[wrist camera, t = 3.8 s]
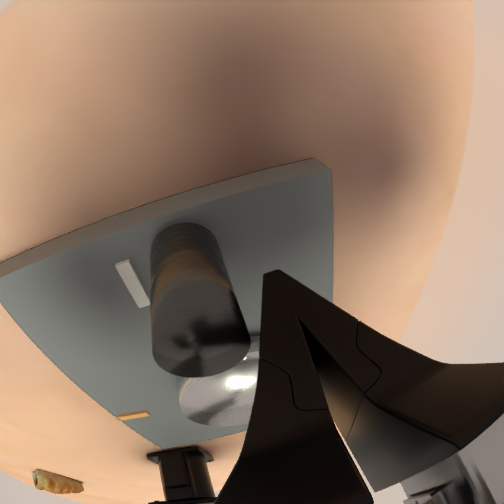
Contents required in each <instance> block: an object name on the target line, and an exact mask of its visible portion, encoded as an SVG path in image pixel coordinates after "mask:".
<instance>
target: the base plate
mask: <svg viewBox="0 0 504 504" xmlns="http://www.w3.org/2000/svg"><path fill="white" fill-rule="evenodd" d="M187 222H188V223H195V224H199V225H202V226H204V227H206V228H207V229H209V230H210V231H211V232H212V233H213V234H214V236H215V237H216V239H217V241H218V244H219V247H220V250H221V253H222V256H223V259H224V262H225V265H226V268H227V271H228V274H229V277H230V280H231V283H232V286H233V289H234V292H235V294H236V297H237V300H238V303H239V306H240V309H241V312H242V315H243V317H244V320H245V323H246V326H247V329H248V332H249V334H250V337H251V336H260V325H261V304H262V283H263V274H264V273H267V272H270V271H273V270H276V269H280V270H282V271H283V272H285V273H286V274H288V275H290V276H291V277H293V278H294V279H296V280H297V281H299V282H300V283H302V284H304V285H305V286H307V287H308V288H310V289H311V290H313V291H314V292H316V293H317V294H319V295H321V296H322V297H324V298H325V299H327V300H328V301H330V302H331V303H332V300H333V197H332V173H331V169H330V168H328V167H327V166H326V165H324V164H323V163H321V162H320V161H318V160H317V159H315V158H312V159H308V160H303V161H299V162H294V163H290V164H286V165H282V166H278V167H273V168H269V169H265V170H261V171H258V172H254V173H250V174H246V175H242V176H239V177H235V178H231V179H228V180H224V181H220V182H217V183H213V184H210V185H207V186H203V187H200V188H196V189H193V190H190V191H187V192H183V193H180V194H177V195H174V196H171V197H167V198H164V199H161V200H158V201H155V202H152V203H149V204H146V205H143V206H140V207H137V208H134V209H132V210H129V211H126V212H123V213H120V214H117V215H115V216H112V217H109V218H106V219H104V220H101V221H98V222H96V223H93V224H91V225H88V226H85V227H83V228H80V229H78V230H75V231H73V232H70V233H68V234H65V235H63V236H60V237H58V238H55V239H53V240H51V241H48V242H46V243H44V244H41V245H39V246H37V247H34V248H32V249H30V250H28V251H25V252H23V253H21V254H19V255H17V256H14V257H12V258H10V259H8V260H6V261H4V262H2V263H0V303H1V304H2V306H3V307H4V308H5V310H6V311H7V312H8V313H9V315H10V316H11V317H12V318H13V320H14V321H15V322H16V323H17V324H18V326H19V327H20V328H21V329H22V330H23V331H24V332H25V334H26V335H27V336H28V337H29V338H30V339H31V340H32V341H33V343H34V344H35V345H36V346H37V347H38V348H39V349H40V350H41V351H42V352H43V353H44V354H45V355H46V356H47V357H48V358H49V359H50V360H51V361H52V362H53V363H54V364H55V365H56V366H57V367H58V368H59V369H60V370H61V371H62V372H63V373H64V374H65V375H66V376H67V377H68V378H69V379H70V380H72V381H73V382H74V383H75V384H76V385H77V386H78V387H79V388H81V389H82V390H83V391H84V392H85V393H86V394H87V395H89V396H90V397H91V398H92V399H93V400H95V401H96V402H97V403H98V404H100V405H101V406H102V407H103V408H105V409H106V410H107V411H108V412H110V413H111V414H112V415H114V416H115V417H116V418H118V419H119V420H120V421H122V422H123V423H124V424H126V425H127V426H129V427H130V428H131V429H133V430H134V431H136V432H137V433H139V434H140V435H142V436H143V437H145V438H146V439H148V440H149V441H151V442H152V443H154V444H155V445H157V446H158V447H160V448H162V449H166V448H172V447H177V446H183V445H188V444H193V443H198V442H202V441H207V440H211V439H215V438H219V437H223V436H227V435H231V434H235V433H239V432H242V431H246V430H247V428H248V424H249V423H247V424H242V425H236V426H208V425H202V424H199V423H196V422H193V421H191V420H189V419H188V418H187V417H185V416H184V415H183V413H182V411H181V408H180V402H179V396H178V389H177V377H178V376H176V375H173V374H171V373H168V372H166V371H165V370H163V369H162V368H160V367H159V366H158V365H157V363H156V362H155V360H154V358H153V354H152V339H151V315H150V249H151V245H152V243H153V241H154V239H155V237H156V236H157V235H158V234H159V233H160V232H161V231H162V230H164V229H165V228H167V227H169V226H171V225H174V224H178V223H187Z"/></svg>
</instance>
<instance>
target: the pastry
mask: <svg viewBox="0 0 504 504" xmlns="http://www.w3.org/2000/svg"><path fill="white" fill-rule="evenodd" d="M32 475H33V480H34V484H35V487H36V488H37V489H39V490H42V489H43V490H46V491H49V492H52V493H55V494H56V493H60V494H65V493H71V492H72V493H80V492H82V491H84V488H83V486H82V484H81V483H80V482H79V481H77V480H73V479H70V478H68V477H65V476H61V475H58V474H54V473H51V472H48V471H44V470H40V469H38V470H36V471H35V473H33V474H32Z"/></svg>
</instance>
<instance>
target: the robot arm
mask: <svg viewBox="0 0 504 504" xmlns="http://www.w3.org/2000/svg"><path fill="white" fill-rule="evenodd" d="M332 418H333V419H332ZM333 420H334V421H333ZM334 422H335V423H336V425H337V427H338V429H339V431H340V432H341V434H342V436H343V437H344V439H345V441H346V443H347V445H348V446H349V448H350V450H351V452H352V454H353V455H354V457H355V459H356V460H357V462H358V464H359V466H360V467H361V469H362V471H363V473H364V475H365V476H366V478H367V480H368V481H369V483H370V485H371V487H372V488H373V490H374V492H378V491H380V490H383V489H385V488H387V487H390V486H392V485H395V484H397V483H399V482H400V483H401V485H402V487H403V489H404V491H405V493H406V495H407V497H408V499H406V500H404V501H403V502H404V504H504V362H503V363H486V364H485V363H484V364H447V363H442V362H439V361H436V360H433V359H431V358H428V357H426V356H424V355H422V354H420V353H418V352H416V351H414V350H412V349H410V348H407V347H405V346H403V345H401V344H399V343H397V342H395V341H394V340H392V339H390V338H388V337H386V336H384V335H382V334H380V333H379V332H377V331H375V330H374V329H372V328H370V327H369V326H367V325H366V324H364V323H363V322H361V321H358V319H356V318H355V317H353V316H352V315H350V314H349V313H347V312H345V311H344V310H342V309H341V308H339V307H338V306H336V305H335V304H333V303H331V302H330V301H328V300H327V299H325V298H324V297H322V296H321V295H319V294H317V293H316V292H314V291H313V290H311V289H310V288H308V287H307V286H305V285H304V284H302V283H300V282H299V281H297V280H296V279H294V278H293V277H291V276H290V275H288V274H286V273H285V272H283V271H282V270H280V269H276V270H273V271H270V272H267V273H264V274H263V283H262V304H261V325H260V345H259V360H258V375H257V385H256V391H255V396H254V402H253V406H252V411H251V415H250V420H249V424H248V428H247V433H246V437H245V441H244V444H243V447H242V451H241V453H240V456H239V459H238V461H237V463H236V464H235V466H234V468H233V470H232V472H231V474H230V475H229V477H228V479H227V481H226V483H225V484H224V486H223V488H222V490H221V491H220V493H219V495H218V497H215V494H214V491H213V487H212V483H211V479H210V476H209V472H208V468H207V464H206V463H207V462H211V461H214V459H213V457H212V456H210V455H209V454H208V453H206V452H205V451H204V450H202V449H201V448H200V447H190V448H185V449H180V450H174V451H168V452H162V453H155V454H148V455H146V456H147V459H148V460H150V461H152V462H154V463H156V464H158V465H159V469H160V475H161V481H162V486H163V491H164V496H165V501H154V502H151V503H148V504H373V503H374V501H373V498H372V495H371V493H370V492H369V490H368V487H367V486H366V484H365V482H364V480H363V478H362V476H361V474H360V473H359V471H358V469H357V467H356V465H355V463H354V461H353V459H352V457H351V455H350V454H349V452H348V450H347V448H346V446H345V444H344V442H343V440H342V438H341V436H340V435H339V433H338V431H337V429H336V426H335V424H334Z"/></svg>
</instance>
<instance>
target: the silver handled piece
mask: <svg viewBox="0 0 504 504" xmlns="http://www.w3.org/2000/svg"><path fill="white" fill-rule="evenodd" d="M150 315H151V339H152V354H153V358H154V360H155V362H156V363H157V365H158V366H159V367H160V368H162V369H163V370H165V371H166V372H168V373H171V374H173V375H176V376H178V377H177V389H178V396H179V402H180V408H181V411H182V413H183V415H184V416H185V417H187V418H188V419H189V420H191V421H193V422H196V423H199V424H202V425H208V426H236V425H242V424H247V423H249V420H250V415H251V411H252V406H253V402H254V396H255V391H256V385H257V375H258V360H259V345H260V336H251V337H250V334H249V332H248V329H247V326H246V323H245V320H244V317H243V315H242V312H241V309H240V306H239V303H238V300H237V297H236V294H235V292H234V289H233V286H232V283H231V280H230V277H229V274H228V271H227V268H226V265H225V262H224V259H223V256H222V253H221V250H220V247H219V244H218V241H217V239H216V237H215V236H214V234H213V233H212V232H211V231H210V230H209V229H207V228H206V227H204V226H202V225H199V224H195V223H188V222H187V223H178V224H174V225H171V226H169V227H167V228H165V229H164V230H162V231H161V232H160V233H159V234H158V235H157V236H156V237H155V239H154V241H153V243H152V245H151V249H150Z"/></svg>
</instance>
